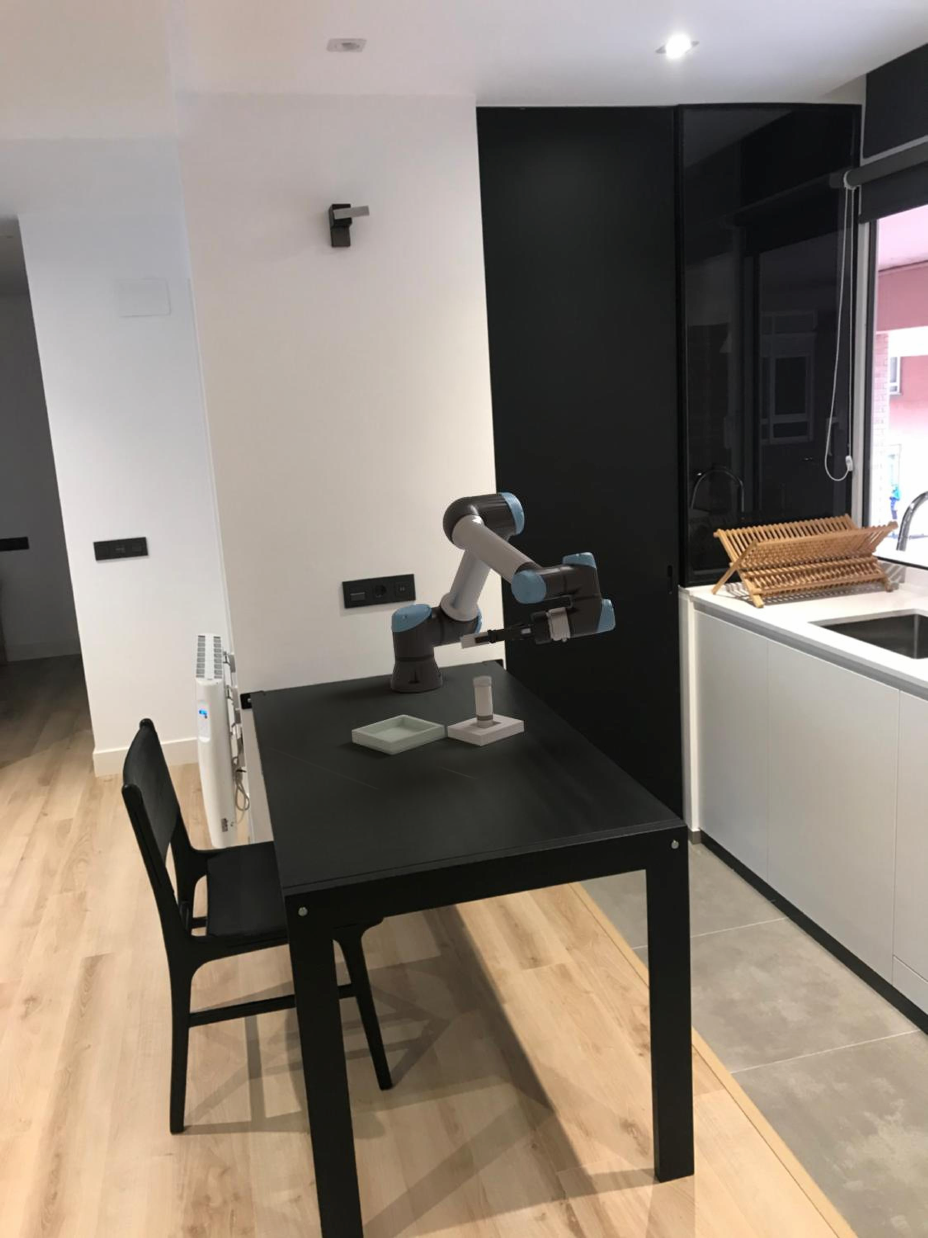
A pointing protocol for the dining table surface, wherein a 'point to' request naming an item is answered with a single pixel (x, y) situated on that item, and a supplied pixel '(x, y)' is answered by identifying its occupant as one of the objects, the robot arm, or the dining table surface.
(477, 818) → the dining table surface
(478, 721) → the fuse
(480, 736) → the socket block
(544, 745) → the dining table surface
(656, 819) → the dining table surface
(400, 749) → the parts tray
